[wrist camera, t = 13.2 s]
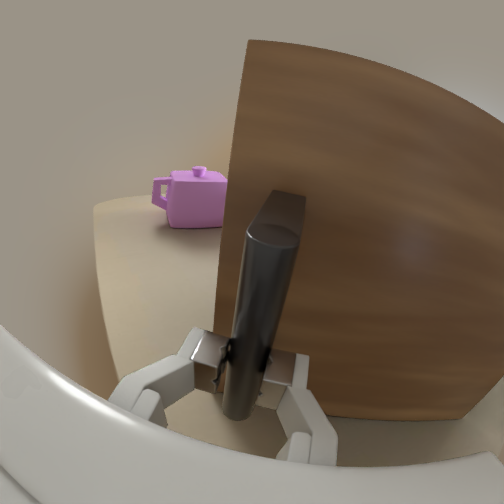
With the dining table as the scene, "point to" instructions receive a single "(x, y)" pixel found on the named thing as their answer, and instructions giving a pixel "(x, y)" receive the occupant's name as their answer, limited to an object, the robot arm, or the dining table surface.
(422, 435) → the dining table surface
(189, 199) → the teapot
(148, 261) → the dining table surface
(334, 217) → the cupboard door
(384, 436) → the dining table surface
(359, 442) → the dining table surface
